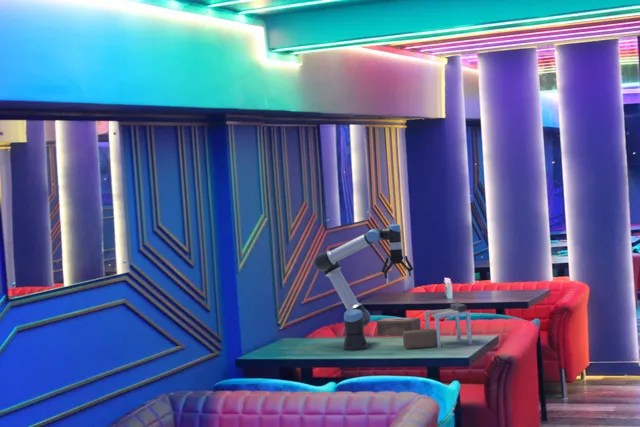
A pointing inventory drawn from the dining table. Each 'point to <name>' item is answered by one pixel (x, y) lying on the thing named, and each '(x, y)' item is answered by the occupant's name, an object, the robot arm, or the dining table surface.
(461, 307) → the trapdoor
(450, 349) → the dining table surface
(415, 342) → the block
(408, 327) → the tissue box cover
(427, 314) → the frame
